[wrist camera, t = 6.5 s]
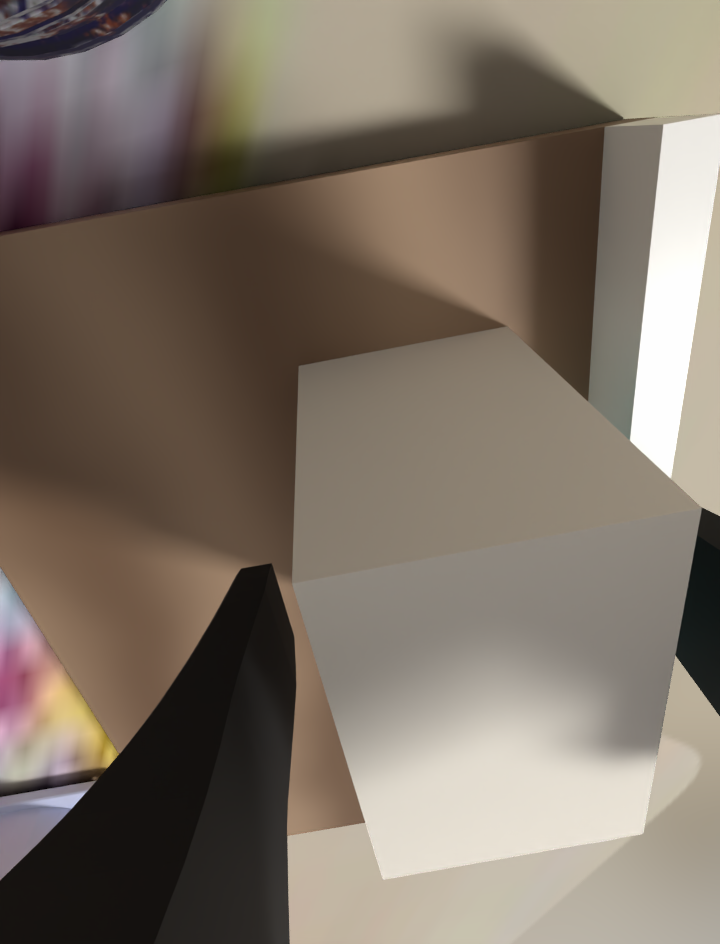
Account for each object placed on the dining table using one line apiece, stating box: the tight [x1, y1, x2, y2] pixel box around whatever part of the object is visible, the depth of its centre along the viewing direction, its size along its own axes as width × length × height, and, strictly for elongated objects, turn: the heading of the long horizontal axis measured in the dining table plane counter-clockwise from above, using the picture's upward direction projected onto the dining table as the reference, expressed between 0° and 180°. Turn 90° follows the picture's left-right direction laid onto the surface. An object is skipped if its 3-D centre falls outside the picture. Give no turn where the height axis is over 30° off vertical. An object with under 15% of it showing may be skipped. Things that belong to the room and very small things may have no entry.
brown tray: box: [0, 114, 720, 844], centre depth 16 cm, size 16×22×3 cm
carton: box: [292, 326, 702, 880], centre depth 11 cm, size 5×7×7 cm
